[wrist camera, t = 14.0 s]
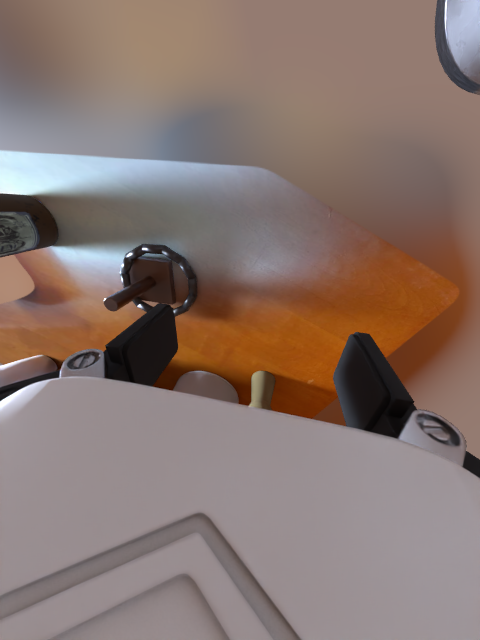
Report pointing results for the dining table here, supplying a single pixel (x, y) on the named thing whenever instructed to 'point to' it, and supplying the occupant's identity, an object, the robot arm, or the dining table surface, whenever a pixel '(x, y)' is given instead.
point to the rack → (146, 284)
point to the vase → (26, 369)
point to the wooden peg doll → (262, 389)
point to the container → (206, 386)
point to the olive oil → (24, 225)
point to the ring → (173, 256)
